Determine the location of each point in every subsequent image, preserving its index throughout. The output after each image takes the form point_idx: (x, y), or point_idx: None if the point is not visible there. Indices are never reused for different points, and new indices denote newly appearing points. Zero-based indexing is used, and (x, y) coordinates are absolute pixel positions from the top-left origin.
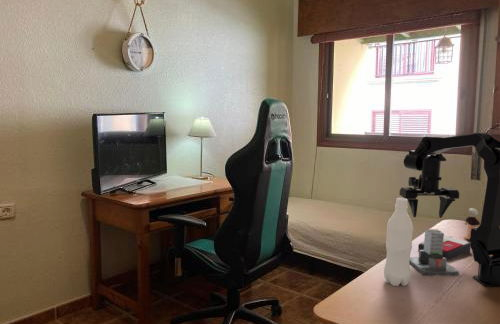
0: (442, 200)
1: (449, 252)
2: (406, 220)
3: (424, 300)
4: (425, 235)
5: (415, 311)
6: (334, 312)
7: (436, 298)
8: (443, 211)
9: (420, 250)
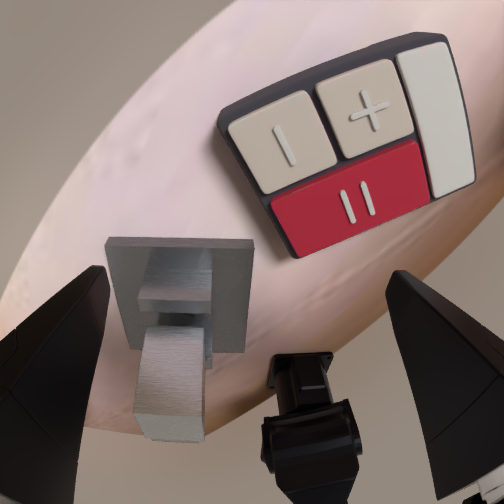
0: (486, 432)
1: (311, 253)
2: None
3: (106, 406)
4: (138, 389)
5: (86, 418)
6: None
7: (129, 405)
8: (409, 364)
9: (140, 305)
